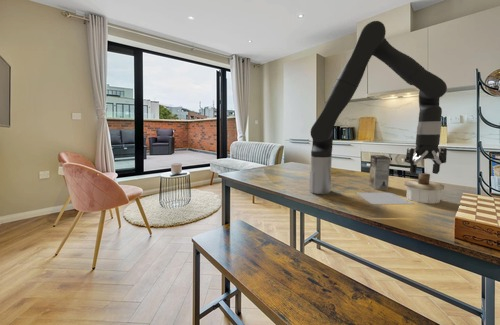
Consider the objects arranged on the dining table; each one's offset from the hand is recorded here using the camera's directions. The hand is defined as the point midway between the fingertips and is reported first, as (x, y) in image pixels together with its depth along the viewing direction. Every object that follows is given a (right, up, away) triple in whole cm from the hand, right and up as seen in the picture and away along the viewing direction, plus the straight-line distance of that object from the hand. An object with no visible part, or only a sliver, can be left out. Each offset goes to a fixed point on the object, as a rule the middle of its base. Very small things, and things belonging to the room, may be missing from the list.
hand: (424, 173), depth 94 cm
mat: (-15, -11, +4) cm, 19 cm away
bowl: (0, -11, +2) cm, 11 cm away
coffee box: (-7, -9, +22) cm, 24 cm away
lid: (0, -5, +1) cm, 5 cm away
